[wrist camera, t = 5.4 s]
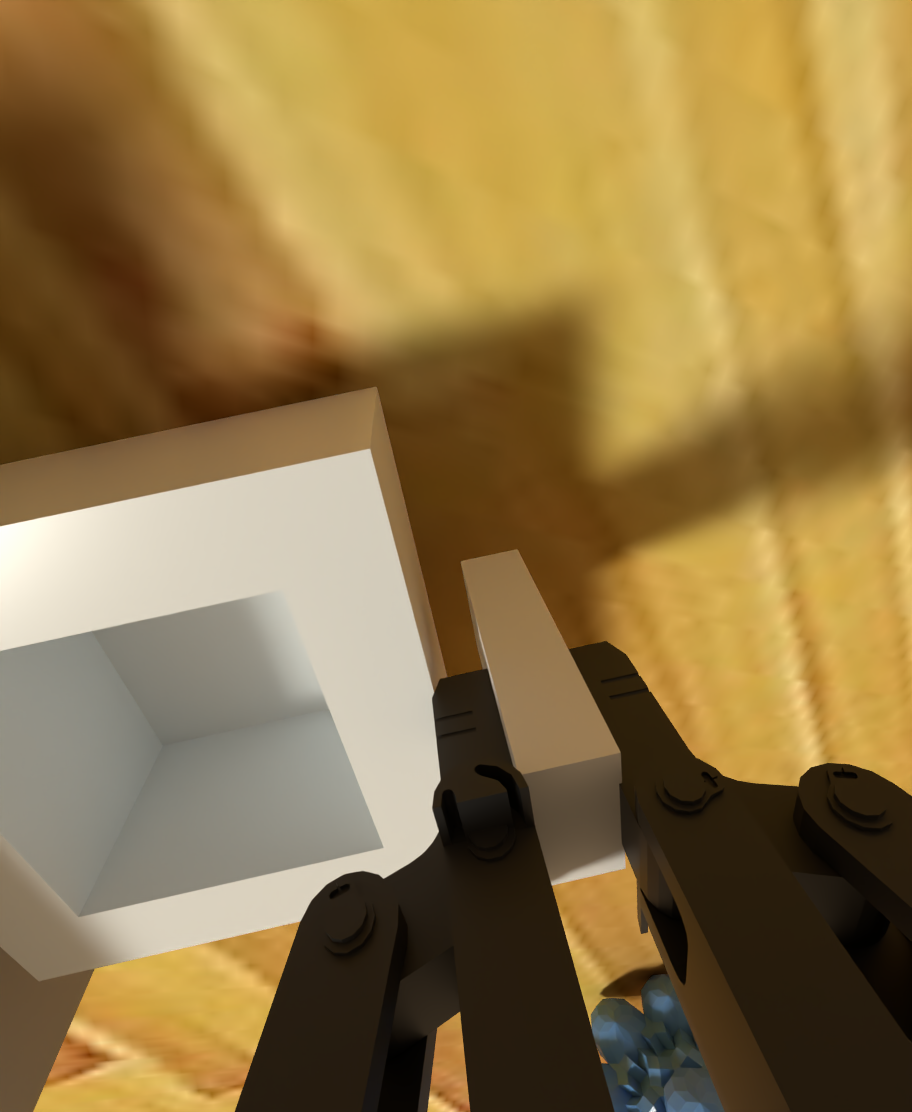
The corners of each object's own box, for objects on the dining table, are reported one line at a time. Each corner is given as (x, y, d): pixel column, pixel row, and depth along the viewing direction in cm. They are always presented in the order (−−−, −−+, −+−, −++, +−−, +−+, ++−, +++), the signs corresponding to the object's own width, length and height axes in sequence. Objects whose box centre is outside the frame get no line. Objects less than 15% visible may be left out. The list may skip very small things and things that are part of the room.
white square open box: (376, 384, 13) (369, 448, 8) (455, 707, 18) (483, 879, 13) (-63, 475, 13) (-379, 606, 8) (141, 776, 18) (38, 981, 13)
